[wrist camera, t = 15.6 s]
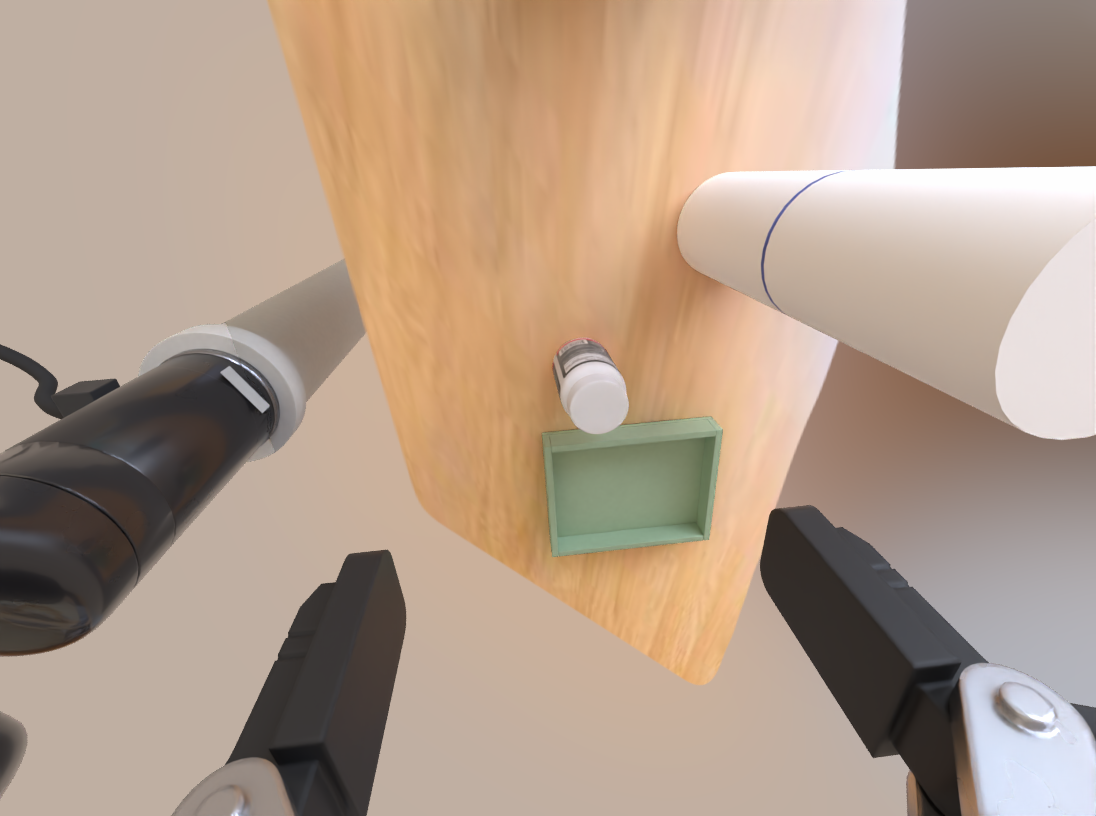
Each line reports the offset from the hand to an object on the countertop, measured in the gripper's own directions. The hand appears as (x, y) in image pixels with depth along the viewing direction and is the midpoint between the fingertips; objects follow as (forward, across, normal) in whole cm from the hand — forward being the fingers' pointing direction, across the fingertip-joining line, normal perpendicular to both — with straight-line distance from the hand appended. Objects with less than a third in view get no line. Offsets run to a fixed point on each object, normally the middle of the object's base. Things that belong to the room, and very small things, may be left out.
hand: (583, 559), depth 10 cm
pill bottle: (+28, -4, +7) cm, 29 cm away
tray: (+28, -8, +19) cm, 35 cm away
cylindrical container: (+28, -15, -3) cm, 32 cm away
